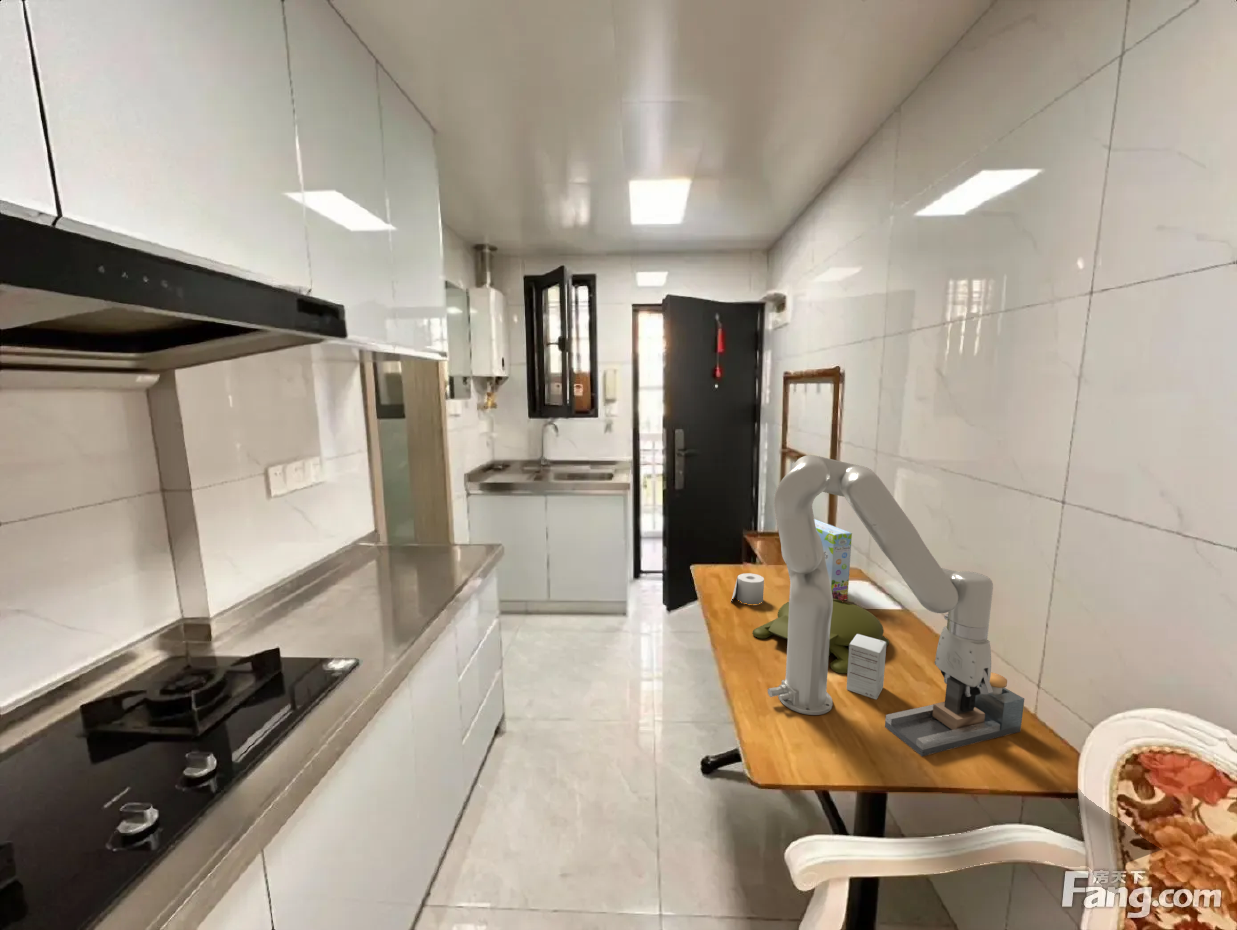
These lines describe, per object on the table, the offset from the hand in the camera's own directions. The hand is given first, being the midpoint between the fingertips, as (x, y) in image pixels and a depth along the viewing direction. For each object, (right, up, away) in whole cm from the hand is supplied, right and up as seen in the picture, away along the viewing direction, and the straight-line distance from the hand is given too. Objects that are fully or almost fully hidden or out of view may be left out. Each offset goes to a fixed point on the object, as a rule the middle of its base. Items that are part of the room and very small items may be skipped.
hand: (959, 705), depth 117 cm
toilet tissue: (-30, +4, +72) cm, 78 cm away
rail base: (-1, -6, 0) cm, 6 cm away
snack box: (0, +6, +82) cm, 82 cm away
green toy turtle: (-13, 0, +45) cm, 46 cm away
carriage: (0, -4, +1) cm, 4 cm away
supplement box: (-13, -4, +17) cm, 22 cm away
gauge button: (+9, -3, +3) cm, 10 cm away
